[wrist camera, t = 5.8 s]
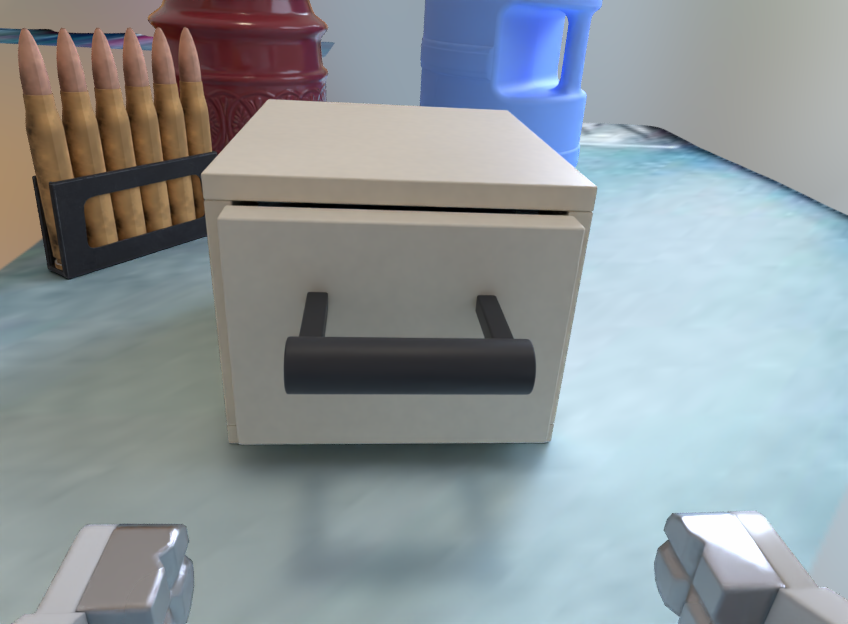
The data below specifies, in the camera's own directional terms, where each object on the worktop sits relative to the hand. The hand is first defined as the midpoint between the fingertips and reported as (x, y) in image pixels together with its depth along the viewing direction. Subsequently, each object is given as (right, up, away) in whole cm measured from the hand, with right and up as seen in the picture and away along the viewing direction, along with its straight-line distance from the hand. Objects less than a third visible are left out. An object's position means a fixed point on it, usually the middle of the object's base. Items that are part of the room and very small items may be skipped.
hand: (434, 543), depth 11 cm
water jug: (+7, +18, +51) cm, 55 cm away
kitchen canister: (-15, +15, +42) cm, 47 cm away
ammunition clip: (-17, +8, +27) cm, 33 cm away
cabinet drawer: (-1, +1, +14) cm, 14 cm away
